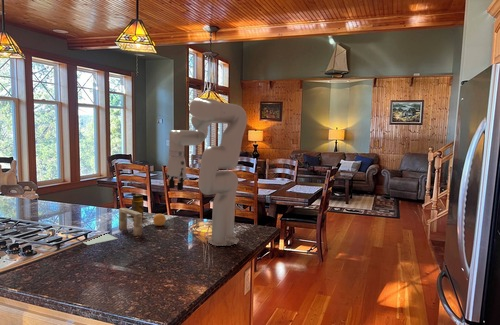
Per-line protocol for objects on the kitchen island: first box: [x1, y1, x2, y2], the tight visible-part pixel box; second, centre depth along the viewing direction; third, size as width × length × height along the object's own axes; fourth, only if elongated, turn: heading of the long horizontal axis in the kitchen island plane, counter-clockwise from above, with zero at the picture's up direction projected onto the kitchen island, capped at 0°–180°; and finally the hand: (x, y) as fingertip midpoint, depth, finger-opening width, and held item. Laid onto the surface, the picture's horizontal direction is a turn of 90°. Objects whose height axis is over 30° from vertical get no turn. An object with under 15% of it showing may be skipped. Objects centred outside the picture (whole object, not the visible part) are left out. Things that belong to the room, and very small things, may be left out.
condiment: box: [127, 194, 146, 220], centre depth 191 cm, size 7×8×12 cm
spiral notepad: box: [83, 233, 119, 246], centre depth 153 cm, size 13×13×1 cm
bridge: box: [118, 207, 143, 237], centre depth 165 cm, size 3×15×10 cm, turn 48°
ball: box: [153, 213, 167, 227], centre depth 177 cm, size 6×6×6 cm
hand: (175, 188), depth 183 cm, fingers open, 6 cm apart
